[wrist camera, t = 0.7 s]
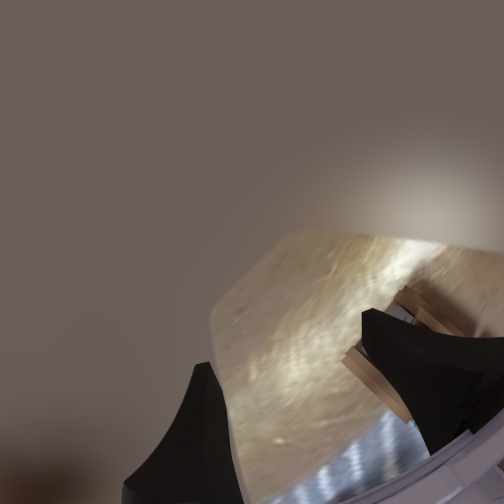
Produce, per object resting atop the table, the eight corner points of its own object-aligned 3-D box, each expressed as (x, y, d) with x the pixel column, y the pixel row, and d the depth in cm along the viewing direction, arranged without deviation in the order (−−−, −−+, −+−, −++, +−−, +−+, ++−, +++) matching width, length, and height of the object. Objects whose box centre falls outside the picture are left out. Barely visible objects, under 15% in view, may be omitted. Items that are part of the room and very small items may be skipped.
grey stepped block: (413, 321, 24) (415, 313, 20) (377, 363, 24) (373, 363, 20) (398, 309, 25) (397, 298, 21) (364, 349, 25) (356, 347, 21)
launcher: (469, 345, 21) (478, 342, 19) (405, 420, 22) (406, 427, 19) (405, 289, 27) (405, 281, 24) (344, 361, 28) (337, 361, 25)
